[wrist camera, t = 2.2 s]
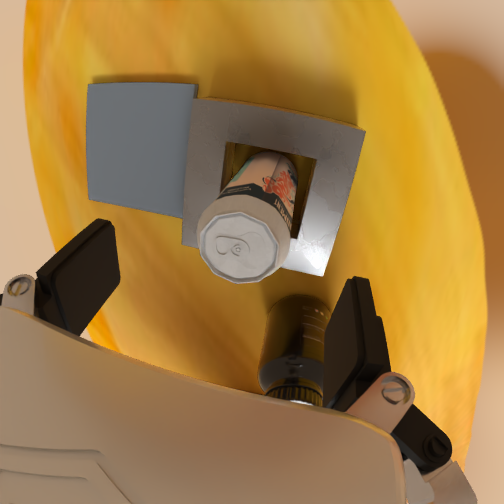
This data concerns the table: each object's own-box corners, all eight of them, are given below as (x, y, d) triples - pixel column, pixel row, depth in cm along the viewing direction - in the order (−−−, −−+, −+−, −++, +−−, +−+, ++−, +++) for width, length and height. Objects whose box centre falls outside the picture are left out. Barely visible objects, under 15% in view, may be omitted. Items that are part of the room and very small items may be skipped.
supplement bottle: (303, 347, 34) (294, 438, 23) (256, 318, 32) (232, 412, 22) (345, 314, 30) (351, 413, 20) (296, 280, 29) (284, 382, 19)
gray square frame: (321, 254, 27) (322, 276, 24) (195, 226, 28) (181, 244, 25) (357, 125, 21) (365, 131, 18) (208, 97, 22) (193, 98, 19)
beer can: (294, 208, 25) (281, 298, 15) (239, 200, 26) (191, 281, 16) (302, 154, 23) (296, 211, 13) (243, 146, 23) (189, 196, 13)
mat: (186, 215, 27) (182, 218, 27) (93, 196, 28) (88, 199, 28) (198, 84, 21) (194, 84, 20) (93, 83, 22) (88, 84, 21)
